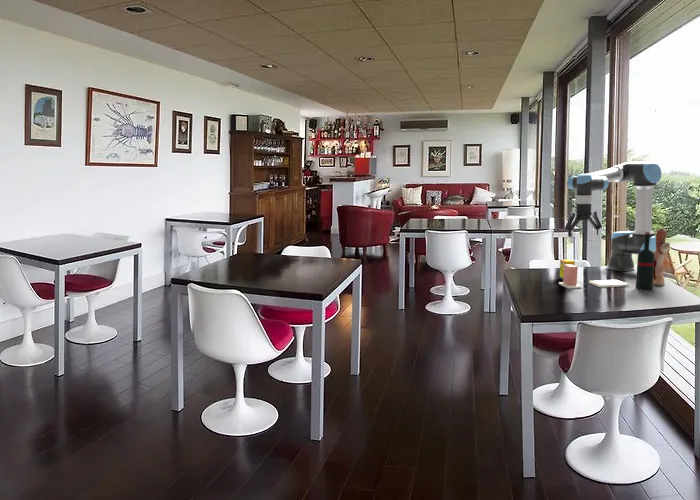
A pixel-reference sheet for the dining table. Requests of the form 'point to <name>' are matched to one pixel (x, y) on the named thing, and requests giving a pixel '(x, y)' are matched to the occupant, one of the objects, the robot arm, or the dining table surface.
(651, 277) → the wine bottle
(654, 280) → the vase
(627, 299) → the dining table surface
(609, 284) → the white flat slab
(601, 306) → the dining table surface
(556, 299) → the dining table surface
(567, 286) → the pink rectangular block
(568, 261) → the supplement box
